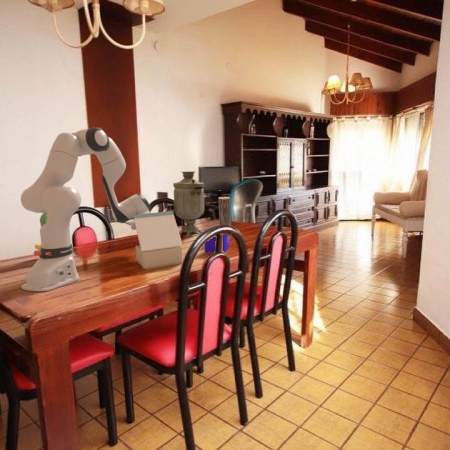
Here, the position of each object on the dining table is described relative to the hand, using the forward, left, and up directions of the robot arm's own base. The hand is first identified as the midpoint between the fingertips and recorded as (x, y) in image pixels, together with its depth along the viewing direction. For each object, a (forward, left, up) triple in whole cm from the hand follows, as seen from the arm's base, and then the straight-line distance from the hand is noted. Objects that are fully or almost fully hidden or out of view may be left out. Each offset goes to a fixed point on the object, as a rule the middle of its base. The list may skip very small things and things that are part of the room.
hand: (155, 225), depth 171 cm
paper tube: (+53, -16, -18) cm, 58 cm away
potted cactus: (-7, +57, -18) cm, 60 cm away
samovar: (+64, +15, -18) cm, 68 cm away
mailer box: (-1, -1, -18) cm, 18 cm away
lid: (-2, -2, -2) cm, 3 cm away
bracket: (+30, -21, -18) cm, 41 cm away
